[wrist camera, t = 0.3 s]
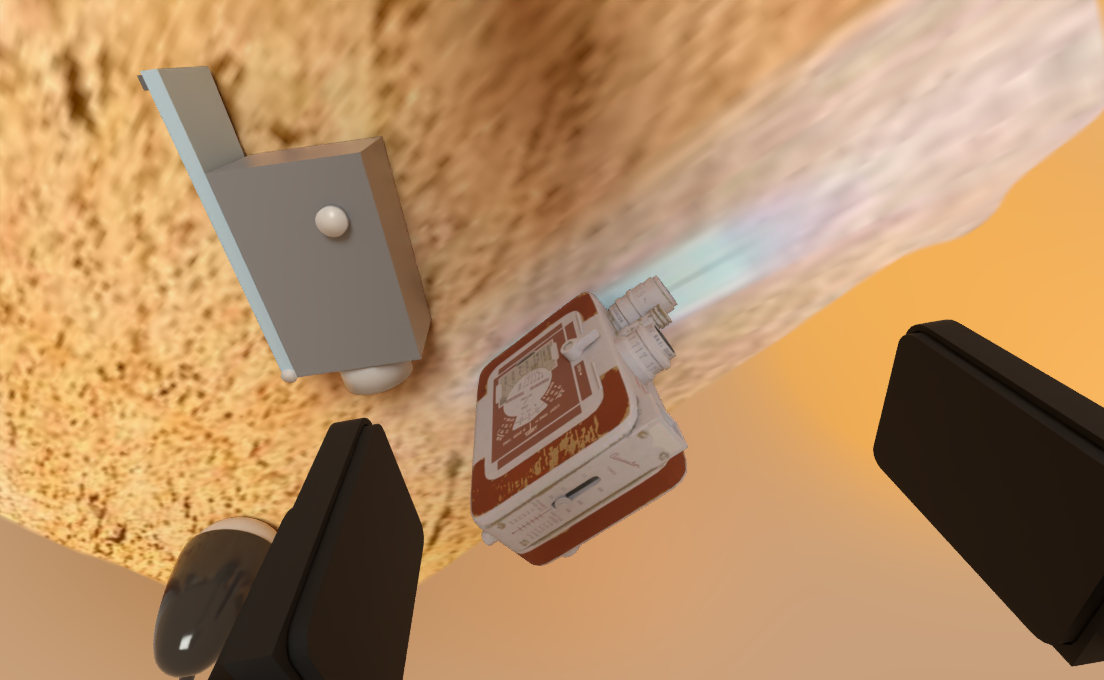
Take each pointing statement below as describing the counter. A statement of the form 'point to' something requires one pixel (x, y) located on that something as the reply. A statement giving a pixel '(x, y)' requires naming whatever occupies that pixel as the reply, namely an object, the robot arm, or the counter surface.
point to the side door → (209, 166)
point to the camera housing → (330, 258)
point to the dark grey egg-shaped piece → (208, 594)
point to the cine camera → (576, 426)
